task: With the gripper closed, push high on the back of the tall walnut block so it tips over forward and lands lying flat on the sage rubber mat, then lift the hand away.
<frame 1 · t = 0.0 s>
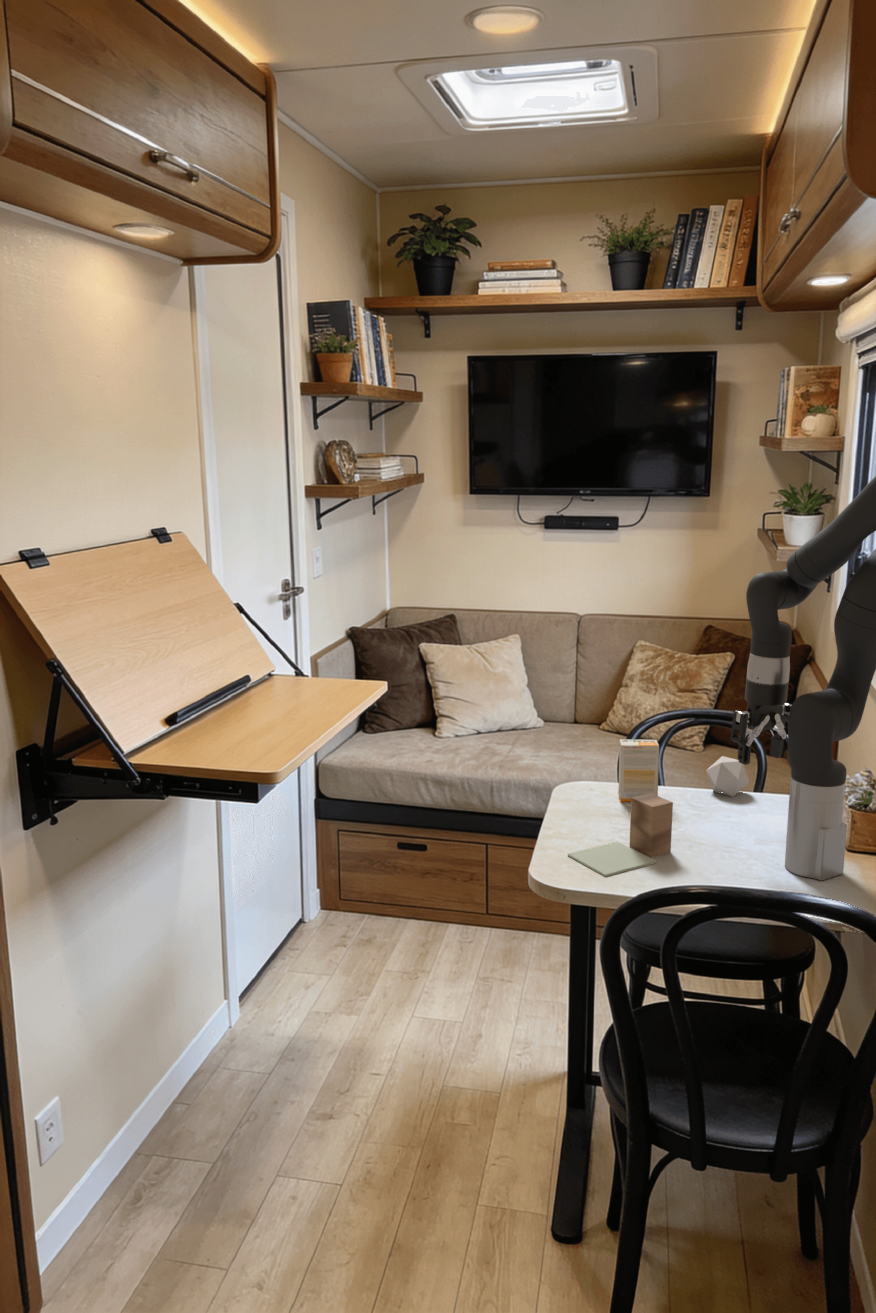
hand: (759, 760, 190), 17 cm above the table, tool pointing down, fingers open, 8 cm apart
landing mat: (611, 859, 186), on the table
supplement box: (637, 799, 219), on the table
walnut block: (649, 849, 191), on the table
die: (726, 793, 223), on the table
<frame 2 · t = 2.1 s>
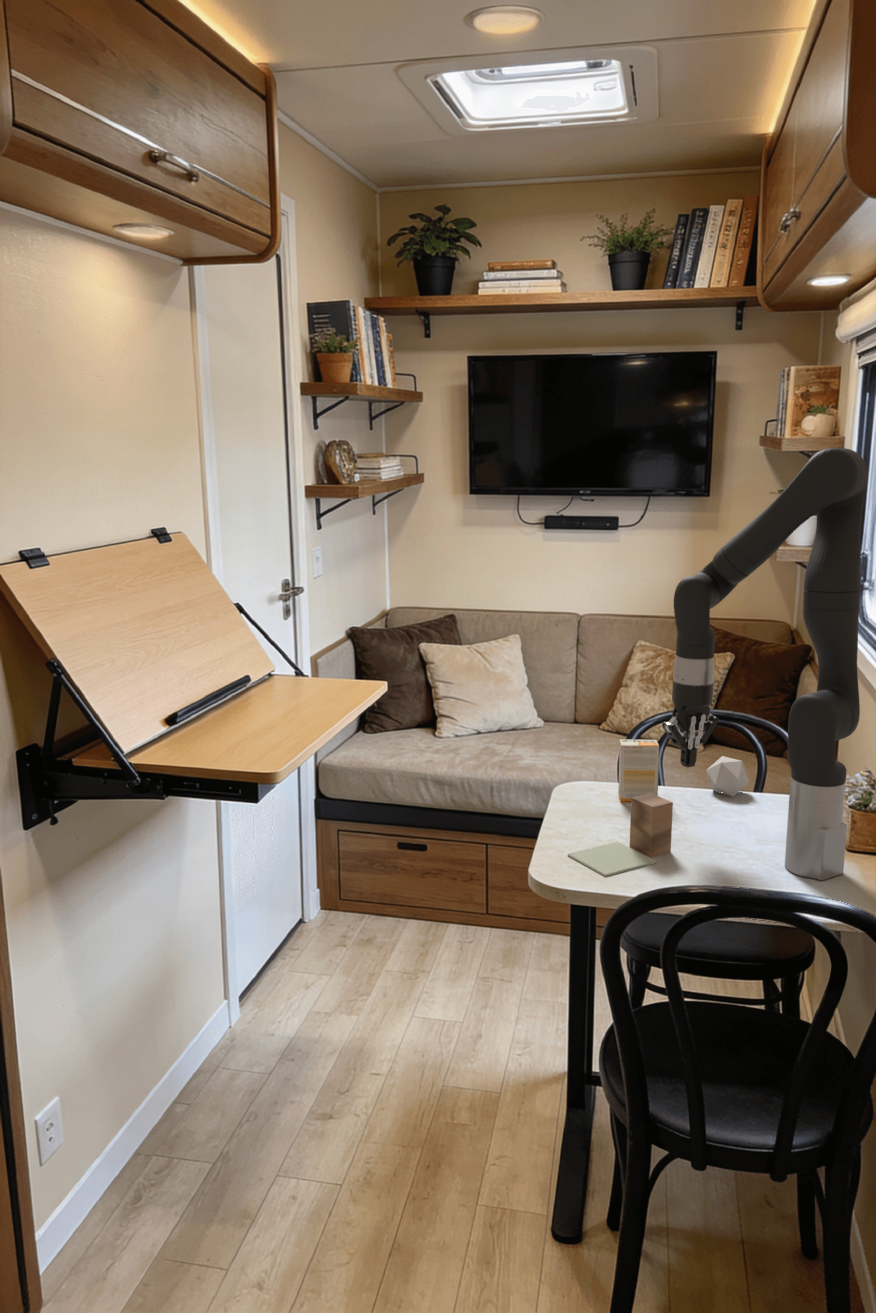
hand: (688, 765, 193), 15 cm above the table, tool pointing down, fingers closed
nothing on the table moved.
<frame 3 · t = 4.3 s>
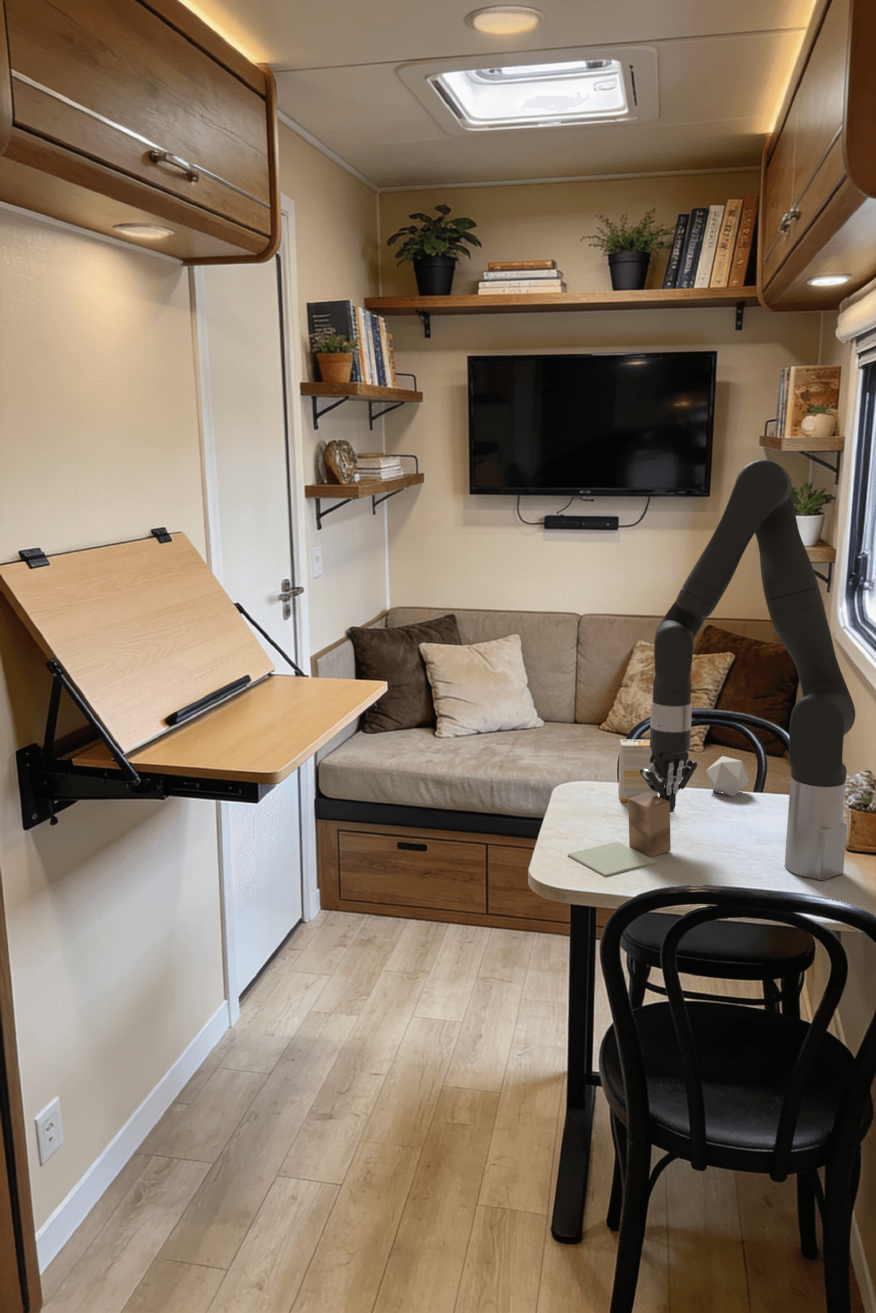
hand: (667, 811, 192), 7 cm above the table, tool pointing down, fingers closed
walnut block: (649, 848, 191), on the table, touching gripper
everything else where it was.
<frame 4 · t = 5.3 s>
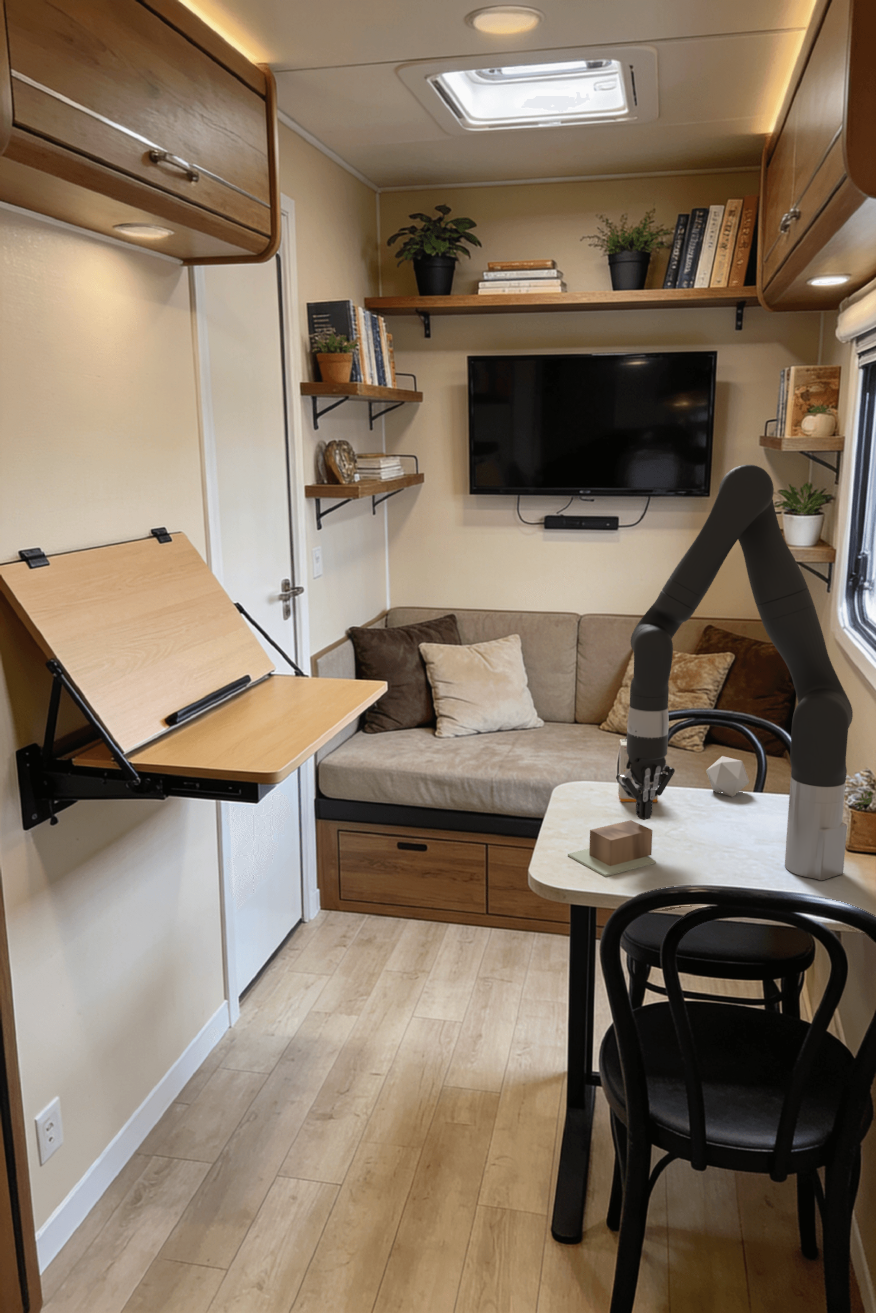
hand: (643, 818, 189), 7 cm above the table, tool pointing down, fingers closed
walnut block: (641, 837, 189), point 3 cm above the table, tilted 90°, touching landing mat
everything else where it was.
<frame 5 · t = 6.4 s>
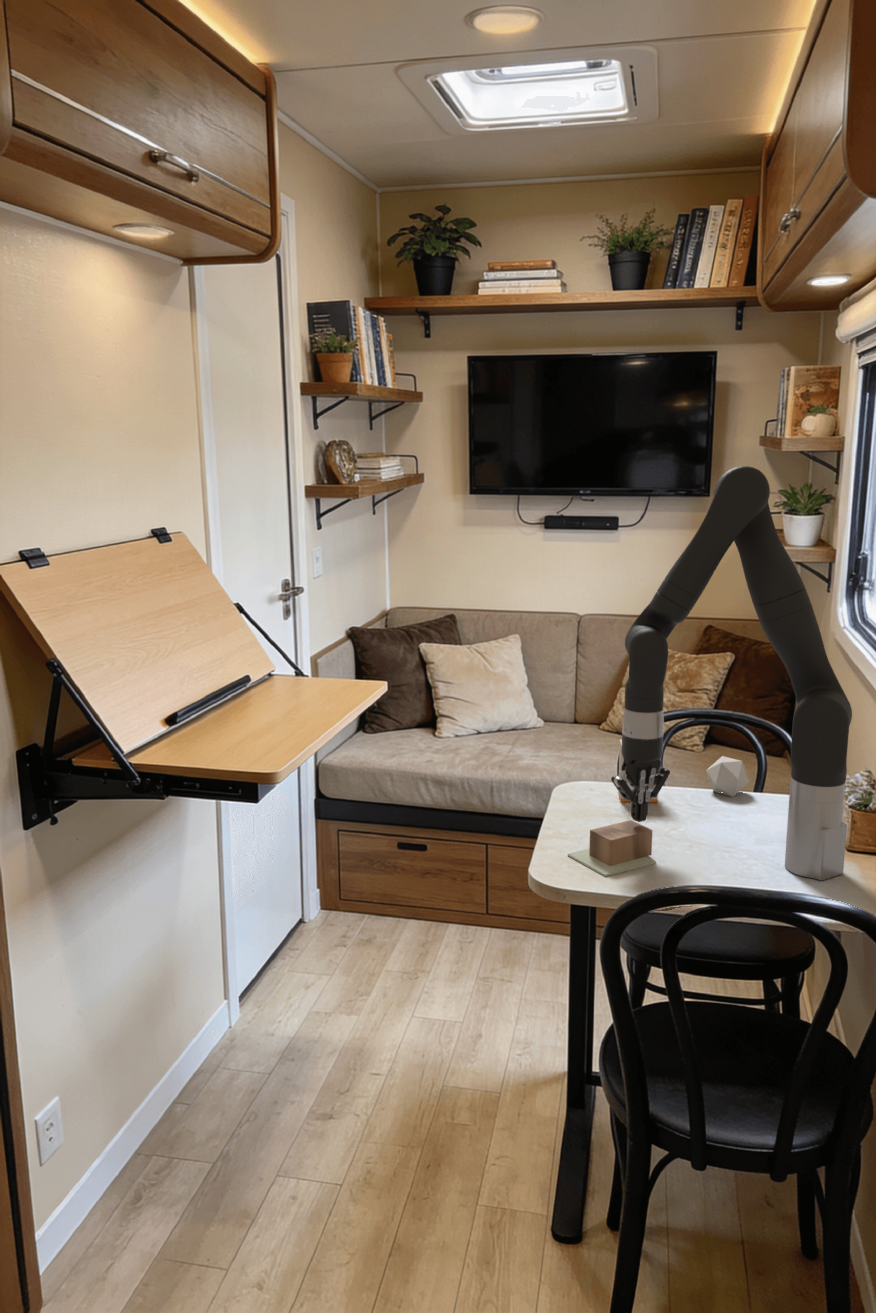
hand: (639, 820, 188), 6 cm above the table, tool pointing down, fingers closed
nothing on the table moved.
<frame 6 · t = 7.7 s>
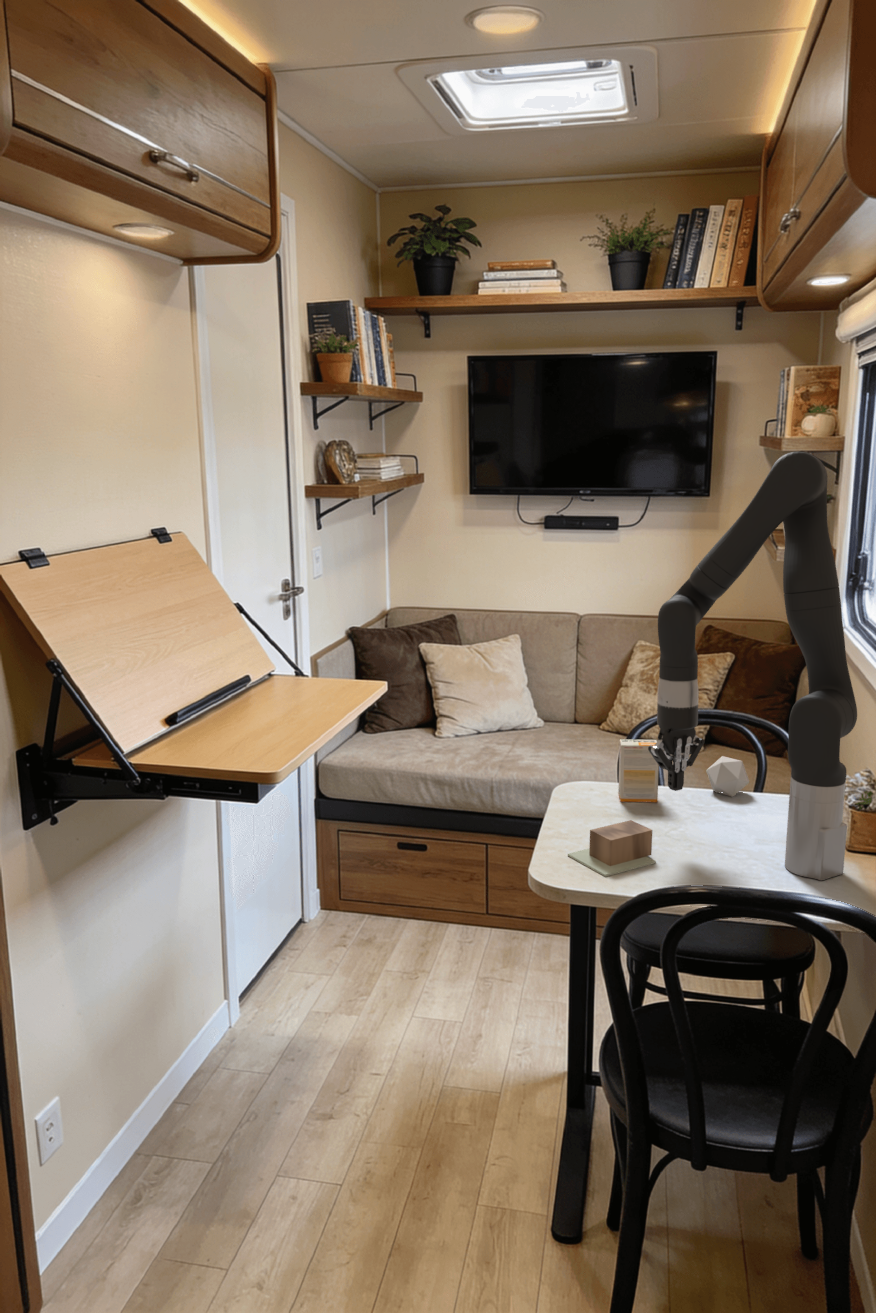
hand: (675, 789, 191), 11 cm above the table, tool pointing down, fingers closed
nothing on the table moved.
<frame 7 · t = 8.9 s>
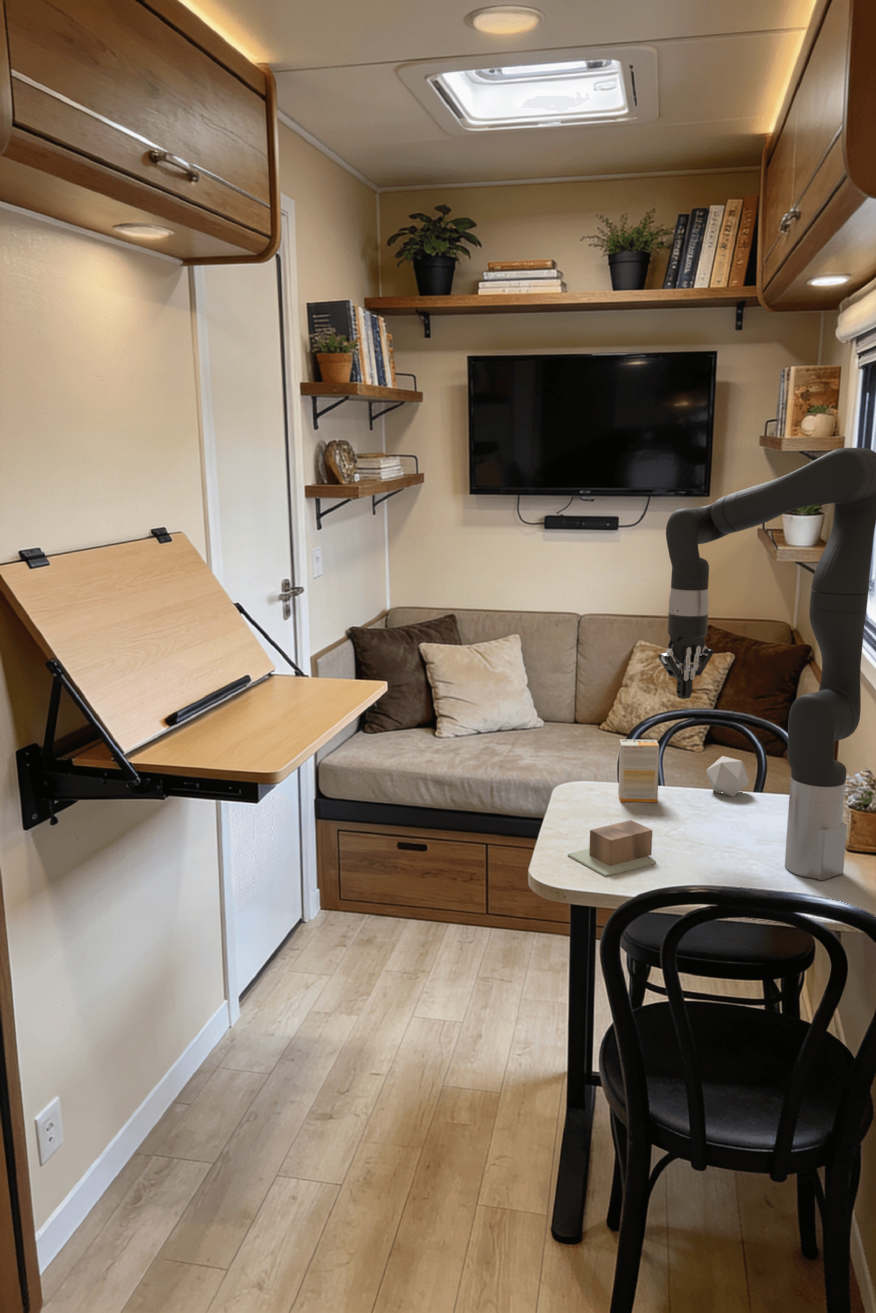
hand: (684, 697, 197), 27 cm above the table, tool pointing down, fingers closed
nothing on the table moved.
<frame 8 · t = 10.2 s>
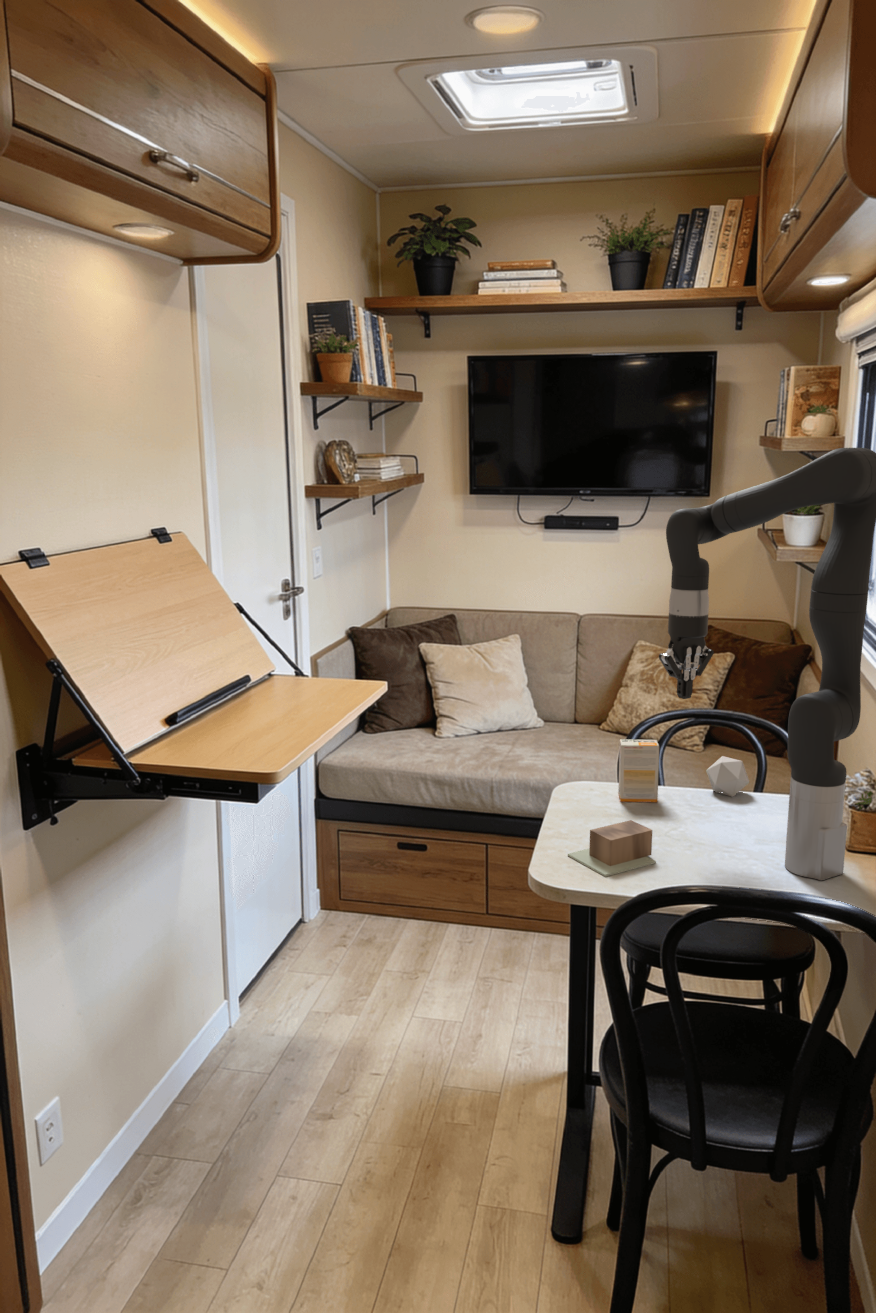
hand: (684, 697, 197), 27 cm above the table, tool pointing down, fingers closed
nothing on the table moved.
at the end: walnut block tilted 90°; walnut block touching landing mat; walnut block inside the target area (1.6 cm from its centre), point 2.9 cm above the table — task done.
